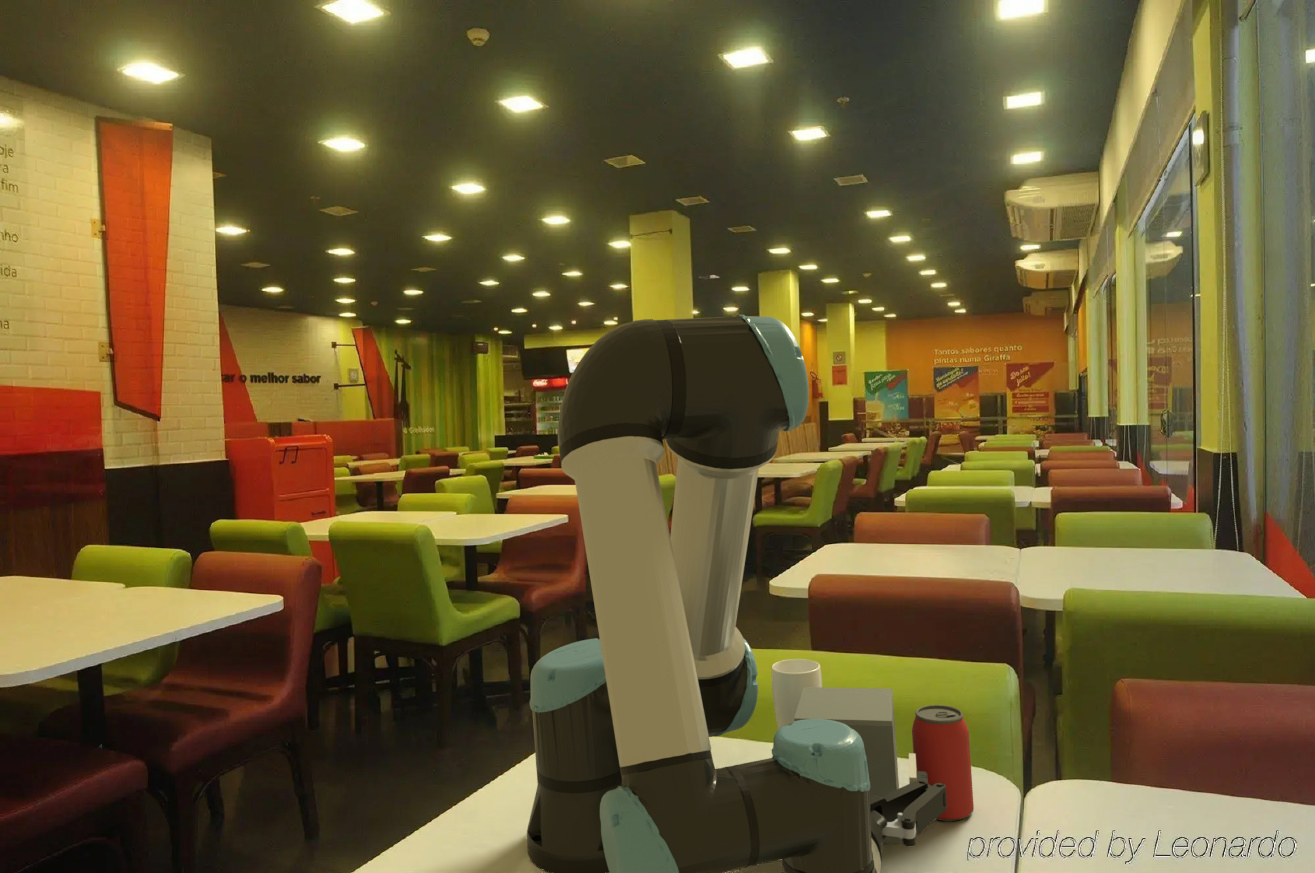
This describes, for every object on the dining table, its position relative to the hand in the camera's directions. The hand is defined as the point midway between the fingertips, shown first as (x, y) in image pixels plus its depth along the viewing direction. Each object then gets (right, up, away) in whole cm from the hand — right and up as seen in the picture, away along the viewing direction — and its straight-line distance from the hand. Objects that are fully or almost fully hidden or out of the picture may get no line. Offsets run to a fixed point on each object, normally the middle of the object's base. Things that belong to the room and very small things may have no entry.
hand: (852, 761), depth 100 cm
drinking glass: (-3, -8, +16) cm, 18 cm away
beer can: (+12, -7, +3) cm, 14 cm away
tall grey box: (+1, -8, +3) cm, 8 cm away
